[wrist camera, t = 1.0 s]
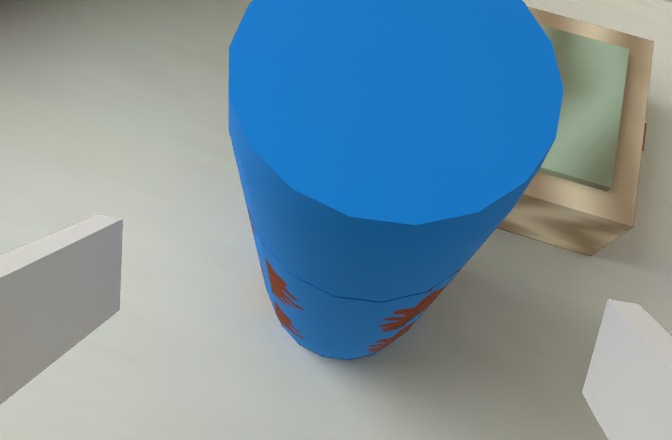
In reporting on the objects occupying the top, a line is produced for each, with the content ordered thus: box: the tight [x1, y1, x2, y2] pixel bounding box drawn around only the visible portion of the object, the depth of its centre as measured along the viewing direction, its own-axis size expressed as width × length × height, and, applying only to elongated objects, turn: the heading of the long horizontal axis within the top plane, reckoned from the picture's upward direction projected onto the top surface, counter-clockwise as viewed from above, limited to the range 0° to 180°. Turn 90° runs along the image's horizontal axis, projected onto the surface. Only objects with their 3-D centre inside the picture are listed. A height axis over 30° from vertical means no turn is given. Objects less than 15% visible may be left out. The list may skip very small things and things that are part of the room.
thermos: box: [229, 0, 564, 360], centre depth 29 cm, size 11×11×25 cm
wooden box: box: [497, 7, 654, 256], centre depth 43 cm, size 17×16×7 cm
